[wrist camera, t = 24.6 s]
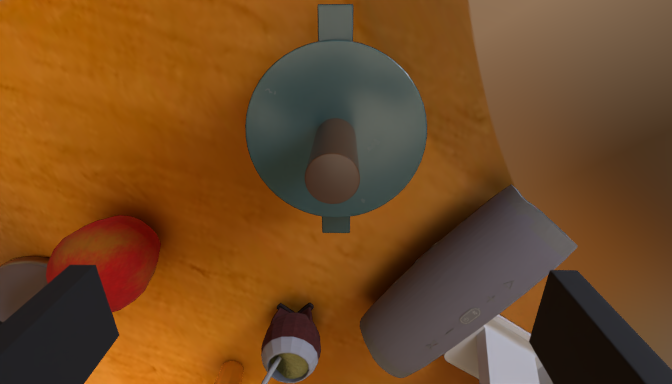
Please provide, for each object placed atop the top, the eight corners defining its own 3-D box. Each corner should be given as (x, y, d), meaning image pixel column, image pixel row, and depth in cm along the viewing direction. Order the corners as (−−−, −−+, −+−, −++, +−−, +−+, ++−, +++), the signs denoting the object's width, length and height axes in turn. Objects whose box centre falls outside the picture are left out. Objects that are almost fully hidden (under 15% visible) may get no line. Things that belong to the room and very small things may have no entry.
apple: (184, 214, 43) (128, 279, 32) (170, 273, 46) (116, 349, 35) (103, 187, 41) (16, 245, 30) (95, 249, 45) (15, 321, 34)
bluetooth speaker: (407, 329, 49) (421, 398, 40) (355, 294, 47) (357, 358, 38) (546, 215, 41) (602, 268, 32) (491, 166, 39) (536, 208, 30)
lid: (257, 210, 31) (224, 278, 23) (239, 39, 25) (187, 46, 17) (415, 211, 31) (442, 281, 22) (433, 39, 25) (477, 45, 17)
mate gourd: (333, 316, 48) (329, 430, 35) (295, 347, 51) (277, 465, 37) (290, 285, 46) (267, 393, 33) (253, 319, 49) (217, 432, 35)
